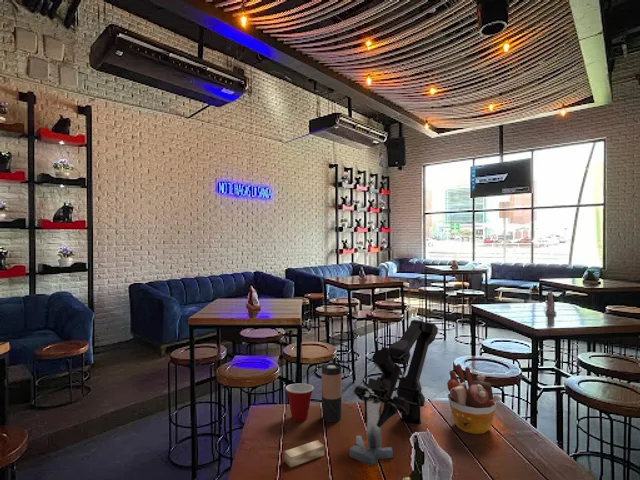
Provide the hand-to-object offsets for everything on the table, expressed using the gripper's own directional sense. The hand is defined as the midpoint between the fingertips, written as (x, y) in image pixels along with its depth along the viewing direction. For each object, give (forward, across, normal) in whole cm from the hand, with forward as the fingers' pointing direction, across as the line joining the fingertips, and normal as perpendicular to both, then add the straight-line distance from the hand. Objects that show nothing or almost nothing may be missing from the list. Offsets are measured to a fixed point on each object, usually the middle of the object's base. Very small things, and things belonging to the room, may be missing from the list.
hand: (371, 424), depth 120 cm
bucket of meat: (-20, +19, +33) cm, 43 cm away
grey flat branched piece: (+8, 0, +5) cm, 9 cm away
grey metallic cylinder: (+4, 0, +6) cm, 7 cm away
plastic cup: (+4, -34, +8) cm, 35 cm away
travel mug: (-1, -24, +14) cm, 28 cm away
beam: (+18, -14, -5) cm, 23 cm away
